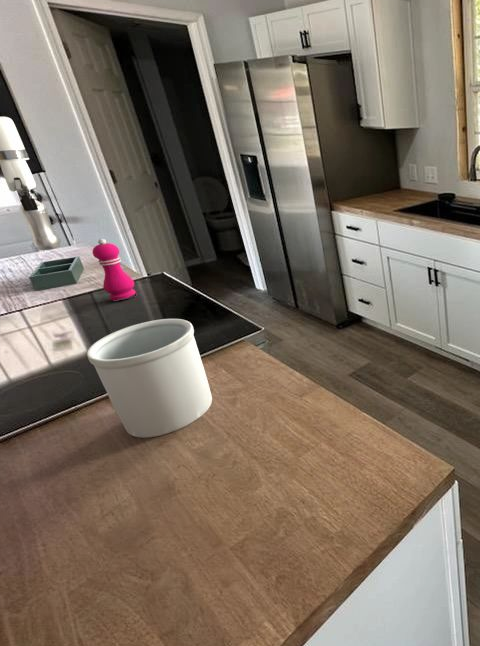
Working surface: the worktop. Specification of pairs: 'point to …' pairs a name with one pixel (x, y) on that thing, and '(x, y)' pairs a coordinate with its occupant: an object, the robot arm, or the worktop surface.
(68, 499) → the worktop surface
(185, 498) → the worktop surface
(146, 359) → the utensil holder
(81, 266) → the divided storage box
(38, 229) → the silver metal bottle
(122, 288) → the pepper mill
